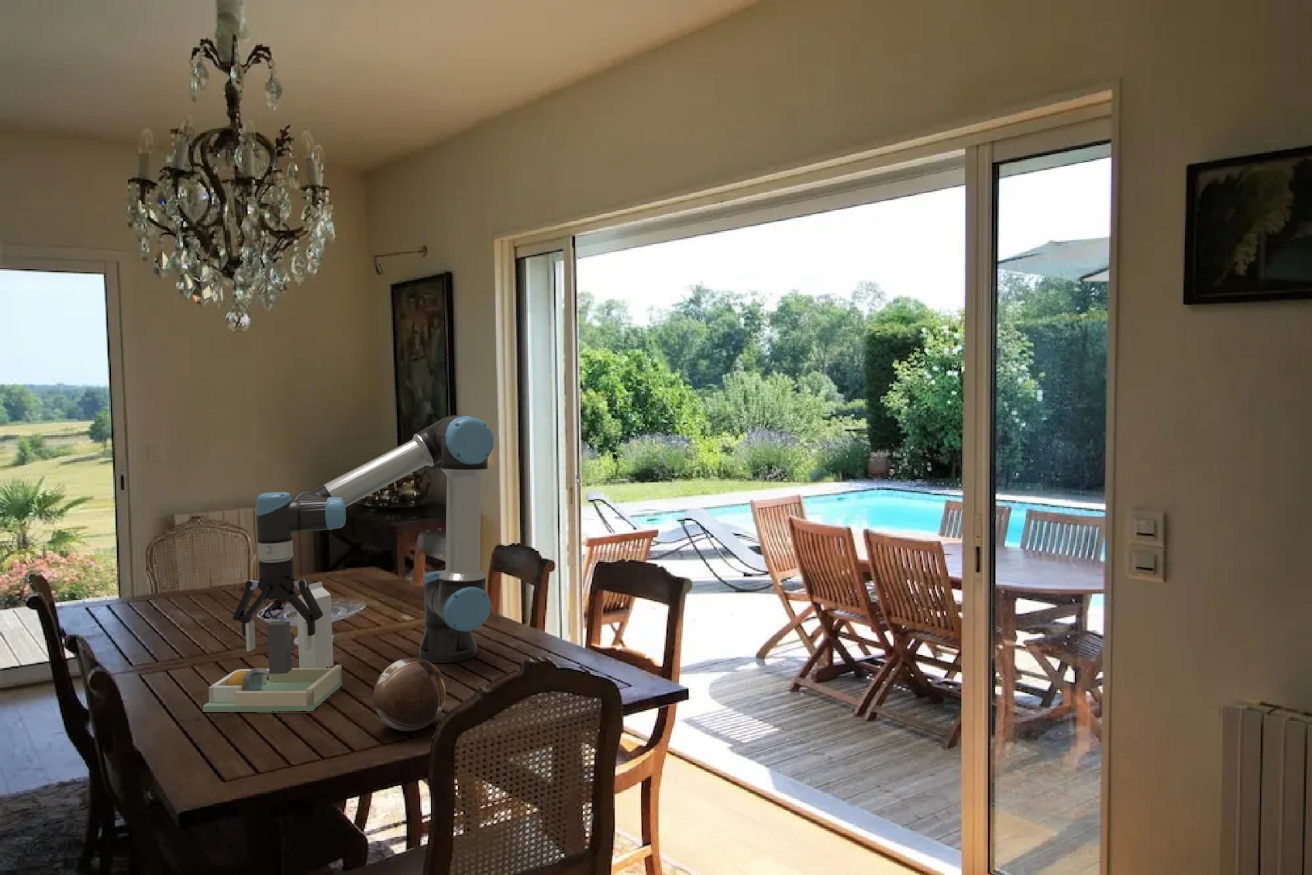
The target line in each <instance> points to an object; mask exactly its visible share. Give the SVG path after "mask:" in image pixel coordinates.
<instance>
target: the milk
mask: <svg viewBox="0 0 1312 875" xmlns="http://www.w3.org/2000/svg"><path fill="white" fill-rule="evenodd" d="M308 585H309V589H310V591H311V593H312V594H313V596H314V598H315V600H316V602H317V604H318V606H319V607H320V609H321V611H322V613H323V616H322V617H321V618H319V619H318V620H315V634H314V635H313V636H312V648H311V649H310V650H308V651H304V631H303V623H304V622H306V620H305V619H304V618H303V617H302V616H301V614H300V613H299V612H298V611H297V610H296V615H297V616H296V618H297V639H298V640H297V641H298V643H297V644H298V645H297V646H298V662H299V663H298V668H326V667H328V668H332V667H334V647H333V646H334V644H333V643H334V642H333V624H332V623H333V620H332V616H333V615H332V596H331V595H332V594H331V593H330V592H329V591H328V590H327V589H325V588H324V587H323V582H322V581H319V582H316V583H314V582H313V583H311V584H308ZM297 596H298V597H299V598H300V600H301V601H302V602H303V603H304V604H305V605H306V606H307V604H306V602H305V600H304V599H303V597H302V595H301V594H299V595H297ZM307 607H308V606H307ZM308 609H309V608H308Z"/></svg>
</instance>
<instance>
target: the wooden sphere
mask: <svg viewBox="0 0 1312 875" xmlns="http://www.w3.org/2000/svg"><path fill="white" fill-rule="evenodd" d="M447 691H448V690H447V683H446V679H445V677H444V675H443V674H442V672H441V670H440V669H439V668H438V667H437V666H436V665H435V664H434V663H431V662H429V661H426V660H424V659H420V657H405V658H401V659H399V660H397V661H394V662H393V663H391V664H389V665H388V666H387V667H386V668H385V669H384V670H383V671H382V672H381V673H380V675H379V676H378V678H377V680H376V682H375V685H374V688H373V698H372V699H373V705H374V708H375V711H376V713H377V715H378V717H379V718H380V719H381V721H382V722H384V723H385V724H386V725H387V726H389V727H390V728H392V729H394V730H397V731H401V732H414V731H418V730H421V729H423V728H426V727H428V726H429V725H430V724H432V723H433V722H435V720H437V718H438V717H439V716H440V714H441V713H442V711H443V709H444V707H445V704H446V701H447V694H448V692H447Z"/></svg>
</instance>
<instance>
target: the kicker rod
mask: <svg viewBox="0 0 1312 875" xmlns="http://www.w3.org/2000/svg"><path fill="white" fill-rule="evenodd" d="M266 627H267V648H268V650H267V651H268V668H262V667H256V668H250V669H251V670H250V672H249V673H248V674H246V675H245V676H244V682H245V691H257V690H258V689H260V688H261V687H262V675H267V676H269V675H281V674H285V673H288V672H289V671H290V670H292V668H293V667H292V666H293V664H292V663H293V662H292V644H291V643H292V642H291V621H290V620H289V621H288V620H285V621H284V620H282V621H281V620H279V621H276V620H275V621H274V620H273V621H271V622H269V623H268V624H266Z"/></svg>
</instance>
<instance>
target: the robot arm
mask: <svg viewBox="0 0 1312 875" xmlns="http://www.w3.org/2000/svg"><path fill="white" fill-rule="evenodd" d="M494 443H495V442H494V434H493V432H492V430H491V428H490V427H489V425H487V423H486V422H485V421H483V420H481V419H480V418H477V417H474V416H473V415H472V416H470V415H464V416H462V415H449V416H444V417H443V418H441V419H439V420H437V421H436V422H435V423H433V424H430V425H429V426H427V427H426V428H424V429H422V430H420V431H418V432H416V433H415V434H413V437H412V439H411V440H409V441H408V442H405V443H404V444H402V445H399V446H397V447H395V448H393V449H391V450H390V451H388V452H386V453H384V454H382V455H380V456H378V457H376V458H374V459H372V460H370V461H368V462H365V463H364V464H362V465H360V466H358V467H356V468H353V469H352V470H350V471H348V472H346V473H344V474H342V475H340V476H338V477H337V478H334V479H333V480H330V481H328V482H326V483H325V484H322V485H321V486H318V487H316V488H315V489H312V490H311V491H309V490H308V491H304V492H301V493H300V494H298V495H297V496H296V498H295V499H292V497H291V494H290V493H289V492H285V491H279V492H278V491H272V492H265V493H261V494H259V495H258V496H257V498H256V504H255V506H256V508H255V510H256V511H255V519H256V536H257V537H256V538H257V558H258V560H259V562H258V577H259V580H256V579H254V578H251V579H248V581H246V582H245V585H244V586H245V587H244V592H243V594H242V596H241V599H240V601H239V604H238V605H237V607H236V609H235V612H234V614H233V617H232V619H233V621H237V622H238V621H239V622H240V623H241V630H242V631H241V634H242V636H243V637H245V640H246V641H245V642H246V643H245V644H246V652H251V651H253V650H254V649H256V636H255V635H256V632H255V620H252V618H253V617H254V616H255V614H256V613H257V612H258V611H259V609H260V608H261V606H263V604H264V603H265V602H266V600H270V601H273V600H278V601H282V600H284V599H285V601H286V602H289V603H290V605H291V606H292V607H293V608H294V609H295V610H296V612H297V611H298V612H299V613H300V614H301V616H302V617H303V618H304V619H305V620H306V622H304V623H303V631H304V651H308V650H310V649H311V648H312V636H313V635H314V634H315V620H318V619H319V618H321V617H322V616H323V613H322V611H321V609H320V607H319V606H318V604H317V602H316V600H315V598H314V596H313V594H312V593H311V591H310V589H309V585H310V584H309V581H308V578H303V579H299V580H295V578H294V573H295V571H294V559H293V556H294V549H293V548H294V544H293V533H300V532H312V531H313V532H314V531H325V530H329V531H333V530H335V529H342V528H343V527H344V526H345V524H346V520H347V512H346V511H347V510H346V508H347V507H348V506H350V505H352V504H354V503H356V502H358V501H360V500H361V499H364V498H365V497H367V496H370V495H371V494H373V493H376V492H377V491H379V490H382V489H383V488H385V487H387V486H389V485H390V484H393V483H395V482H397V481H399V480H400V479H402V478H404V477H406V476H408V475H410V474H412V473H414V472H416V471H418V470H420V469H422V468H425V467H426V466H427V467H434V466H436V465H438V464H440V470H441V471H442V472H443V473H444V475H445V476H446V509H445V510H446V513H445V514H446V518H445V519H446V521H445V526H446V527H445V529H446V530H445V569H444V570H437V571H436V570H435V571H430V572H427V573H425V575H424V577H423V585H422V587H423V598H424V599H423V601H424V603H423V604H424V621H425V622H424V623H425V624H424V628H425V629H424V633H423V636H422V639H421V642H420V646H419V650H418V652H419V658H420V659H424V660H426V661H429V662H430V663H432V664H450V663H457V662H463V661H468V660H469V659H472V658H474V657H475V656H476V655H478V645H477V642H476V639H475V636H474V634H473V631H474V630H477V629H479V628H480V627H481V626H482V625H483V624H484V623H485V622H486V621H487V619H488V618H489V616H490V613H491V610H492V608H491V607H492V603H491V599H490V596H489V595H488V593H487V592H486V591H487V590H486V583H487V582H486V577H487V576H486V574H485V573H484V572H483V571H482V570H481V566H480V565H481V528H482V527H481V526H482V524H481V518H482V516H481V515H482V512H481V511H482V477H483V474H485V473H486V472H487V471H488V470H489V468H488V465H489V464H488V459H489V458H488V457H489V456H490V455H491V454H492V451H493V450H494V449H493V448H494ZM295 587H296V588H297V590H299V593H300V595H302V597H303V599H304V600H305V602H306V604H307V606H308V607H307V606H306V605H305V604H304V603H303V602H302V601H301V600H300V598H299V597H298V596H299V595H298V594H297V592H296V591H295V590H294V588H295ZM257 588H258V589H259V591H261V592H260V594H259V595H258V596H257V598H256V600H255V601H254V602H253V604H252V605H251V606H250V607H249V604H250V601H251V599H252V597H253V594H254V593H255V590H257ZM248 607H249V609H248V610H247V608H248ZM308 608H309V609H308Z"/></svg>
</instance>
